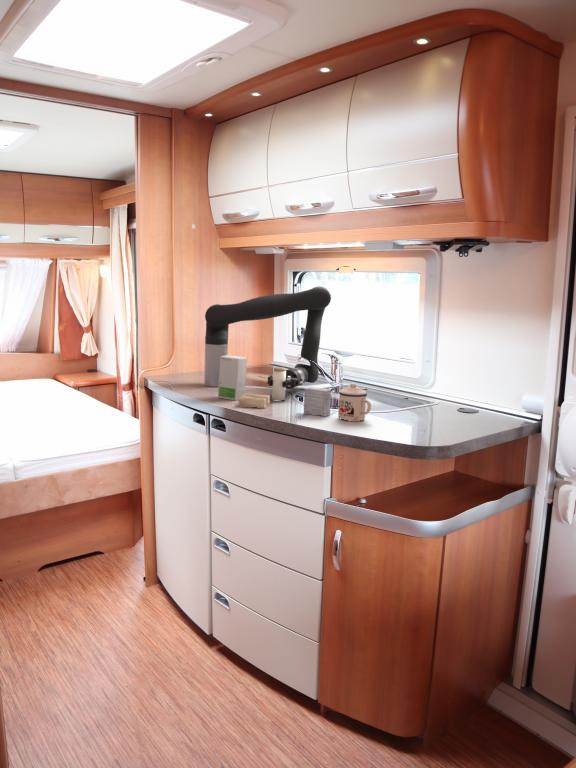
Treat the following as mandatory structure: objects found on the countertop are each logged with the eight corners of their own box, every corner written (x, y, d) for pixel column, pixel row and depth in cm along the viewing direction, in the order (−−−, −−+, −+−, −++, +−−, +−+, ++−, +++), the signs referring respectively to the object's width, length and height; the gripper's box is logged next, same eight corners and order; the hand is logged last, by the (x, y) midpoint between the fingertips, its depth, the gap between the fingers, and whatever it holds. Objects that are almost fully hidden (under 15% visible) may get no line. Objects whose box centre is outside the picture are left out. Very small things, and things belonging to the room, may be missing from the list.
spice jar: (273, 398, 230) (274, 366, 228) (286, 399, 229) (287, 367, 227) (270, 400, 225) (272, 368, 224) (283, 401, 225) (284, 369, 223)
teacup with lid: (331, 418, 200) (333, 382, 198) (349, 414, 206) (351, 380, 204) (360, 425, 191) (362, 388, 190) (378, 421, 198) (380, 385, 196)
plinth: (245, 402, 221) (245, 393, 220) (269, 403, 219) (270, 395, 219) (238, 406, 212) (239, 397, 212) (264, 408, 211) (264, 399, 210)
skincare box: (217, 398, 226) (218, 356, 224) (227, 395, 232) (228, 354, 230) (236, 400, 222) (238, 358, 220) (246, 398, 228) (247, 356, 226)
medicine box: (330, 415, 205) (331, 389, 204) (324, 417, 201) (325, 391, 200) (309, 411, 209) (310, 386, 207) (303, 413, 205) (304, 388, 204)
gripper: (275, 366, 241) (258, 371, 226) (310, 370, 237) (295, 375, 221) (274, 385, 243) (258, 391, 227) (309, 389, 238) (294, 395, 222)
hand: (276, 383), depth 224 cm, fingers closed on spice jar, 4 cm apart
